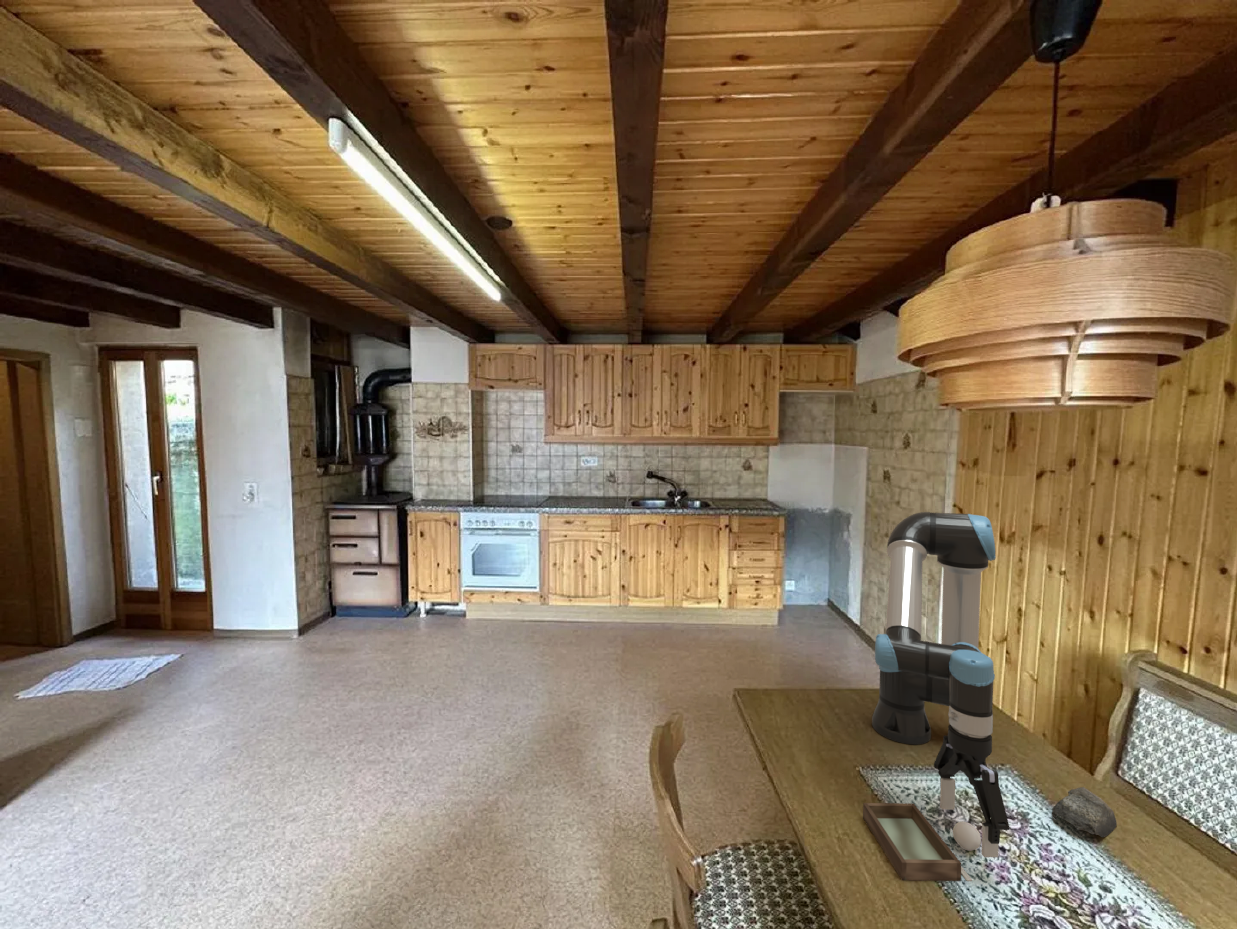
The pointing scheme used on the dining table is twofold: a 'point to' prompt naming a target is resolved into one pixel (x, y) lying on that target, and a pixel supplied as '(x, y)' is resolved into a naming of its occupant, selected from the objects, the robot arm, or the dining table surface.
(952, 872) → the brown wooden tray
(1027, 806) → the dining table surface
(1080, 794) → the rock
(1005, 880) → the dining table surface
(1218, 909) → the dining table surface
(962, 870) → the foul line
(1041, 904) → the dining table surface
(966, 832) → the cream egg
